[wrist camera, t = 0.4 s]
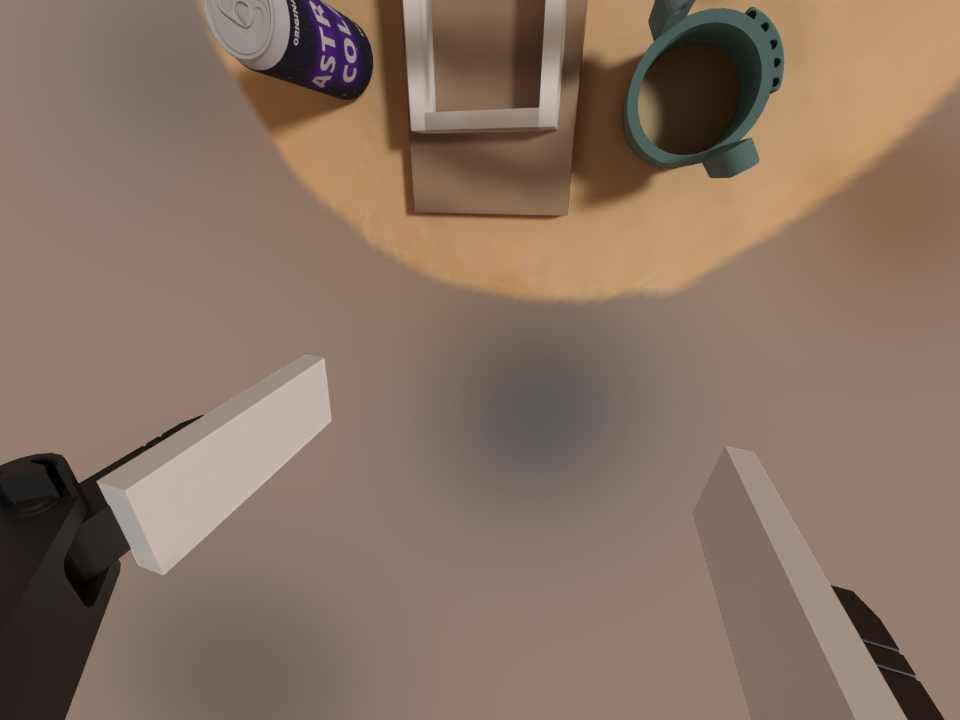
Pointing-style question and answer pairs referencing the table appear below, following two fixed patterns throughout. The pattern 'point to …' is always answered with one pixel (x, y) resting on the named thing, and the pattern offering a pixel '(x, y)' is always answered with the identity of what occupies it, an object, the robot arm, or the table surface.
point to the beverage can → (295, 43)
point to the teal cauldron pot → (756, 64)
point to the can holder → (492, 103)
